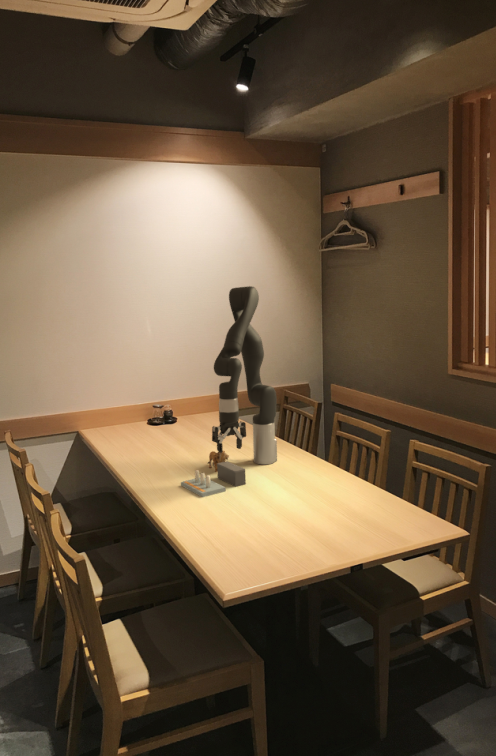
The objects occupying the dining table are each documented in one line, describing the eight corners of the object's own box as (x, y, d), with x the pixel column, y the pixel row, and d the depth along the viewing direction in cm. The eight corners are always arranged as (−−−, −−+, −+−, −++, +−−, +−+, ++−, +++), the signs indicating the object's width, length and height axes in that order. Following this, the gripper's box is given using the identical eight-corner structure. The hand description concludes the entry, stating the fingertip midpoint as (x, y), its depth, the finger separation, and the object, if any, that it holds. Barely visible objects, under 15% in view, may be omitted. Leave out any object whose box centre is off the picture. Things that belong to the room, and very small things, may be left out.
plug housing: (227, 475, 259) (226, 461, 258) (245, 484, 248) (245, 468, 247) (217, 478, 256) (217, 463, 255) (235, 486, 246) (235, 471, 245)
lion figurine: (231, 471, 264) (230, 450, 262) (220, 474, 261) (219, 453, 259) (212, 463, 276) (211, 443, 274) (201, 465, 273) (200, 445, 271)
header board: (203, 480, 254) (202, 465, 253) (225, 491, 241) (225, 475, 240) (181, 485, 249) (180, 470, 248) (202, 497, 236) (201, 481, 235)
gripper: (238, 405, 254) (239, 445, 257) (207, 410, 246) (208, 451, 249) (249, 408, 248) (250, 449, 251) (218, 413, 240) (219, 455, 243)
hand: (229, 450), depth 250 cm, fingers open, 8 cm apart
